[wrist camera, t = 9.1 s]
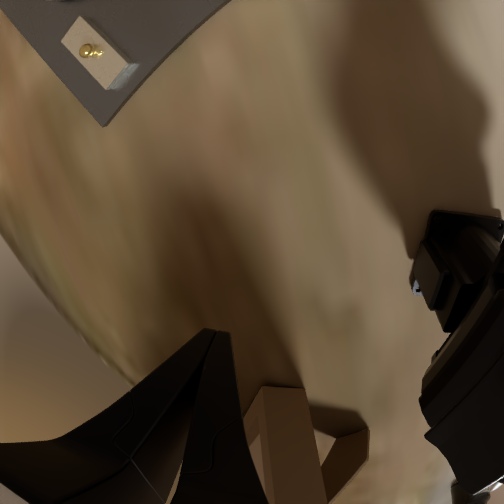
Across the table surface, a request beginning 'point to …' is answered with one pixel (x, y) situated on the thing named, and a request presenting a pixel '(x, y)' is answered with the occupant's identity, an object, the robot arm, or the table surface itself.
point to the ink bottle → (469, 496)
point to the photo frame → (298, 450)
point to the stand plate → (107, 42)
